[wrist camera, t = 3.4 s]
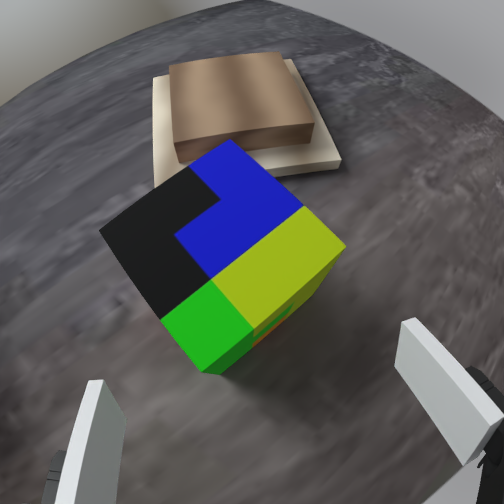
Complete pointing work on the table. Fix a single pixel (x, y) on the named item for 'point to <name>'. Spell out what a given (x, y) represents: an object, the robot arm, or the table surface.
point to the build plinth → (264, 157)
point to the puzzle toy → (222, 254)
